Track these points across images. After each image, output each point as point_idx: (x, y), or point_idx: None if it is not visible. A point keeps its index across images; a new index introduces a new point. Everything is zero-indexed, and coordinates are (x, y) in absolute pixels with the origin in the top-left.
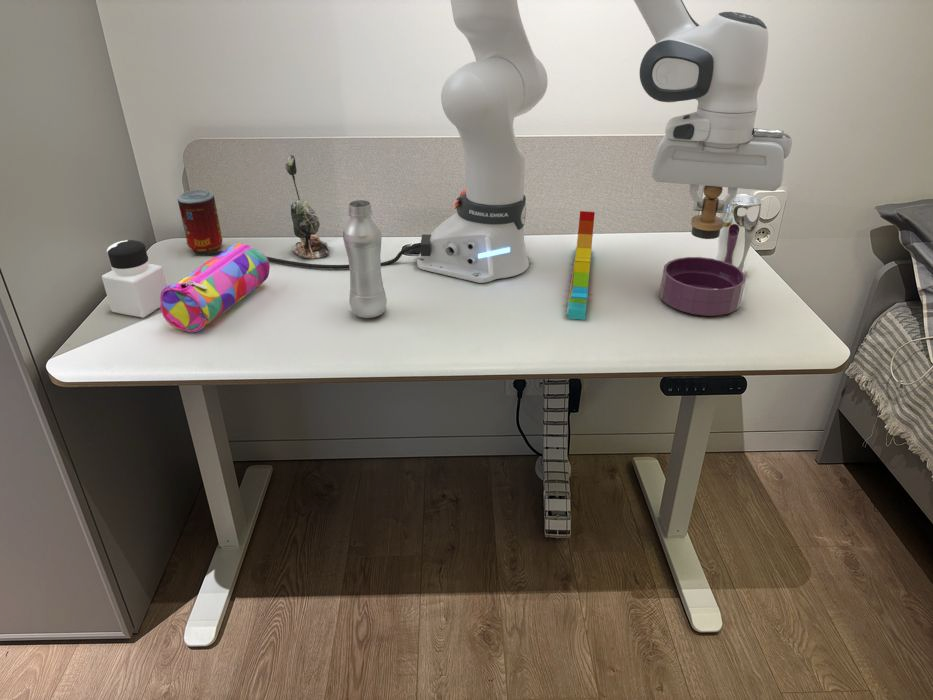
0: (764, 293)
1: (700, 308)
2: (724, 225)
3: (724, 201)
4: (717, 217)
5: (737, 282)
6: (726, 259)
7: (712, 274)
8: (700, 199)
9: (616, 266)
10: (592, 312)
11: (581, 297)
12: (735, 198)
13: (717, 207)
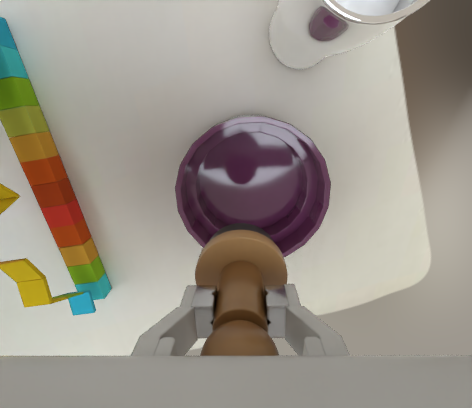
0: (362, 113)
1: None
2: (295, 33)
3: (288, 338)
4: (269, 253)
5: (314, 163)
6: (298, 55)
7: (269, 134)
8: (201, 320)
9: (84, 82)
10: (112, 266)
11: (87, 313)
12: None
13: (265, 301)
